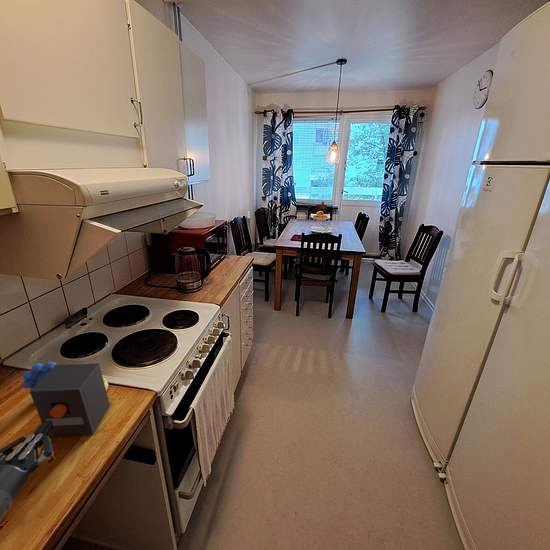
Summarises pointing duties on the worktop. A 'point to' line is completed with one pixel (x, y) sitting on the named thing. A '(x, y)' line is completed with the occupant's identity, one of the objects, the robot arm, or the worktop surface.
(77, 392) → the push button control box
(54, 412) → the power button
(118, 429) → the worktop surface
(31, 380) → the grapes
